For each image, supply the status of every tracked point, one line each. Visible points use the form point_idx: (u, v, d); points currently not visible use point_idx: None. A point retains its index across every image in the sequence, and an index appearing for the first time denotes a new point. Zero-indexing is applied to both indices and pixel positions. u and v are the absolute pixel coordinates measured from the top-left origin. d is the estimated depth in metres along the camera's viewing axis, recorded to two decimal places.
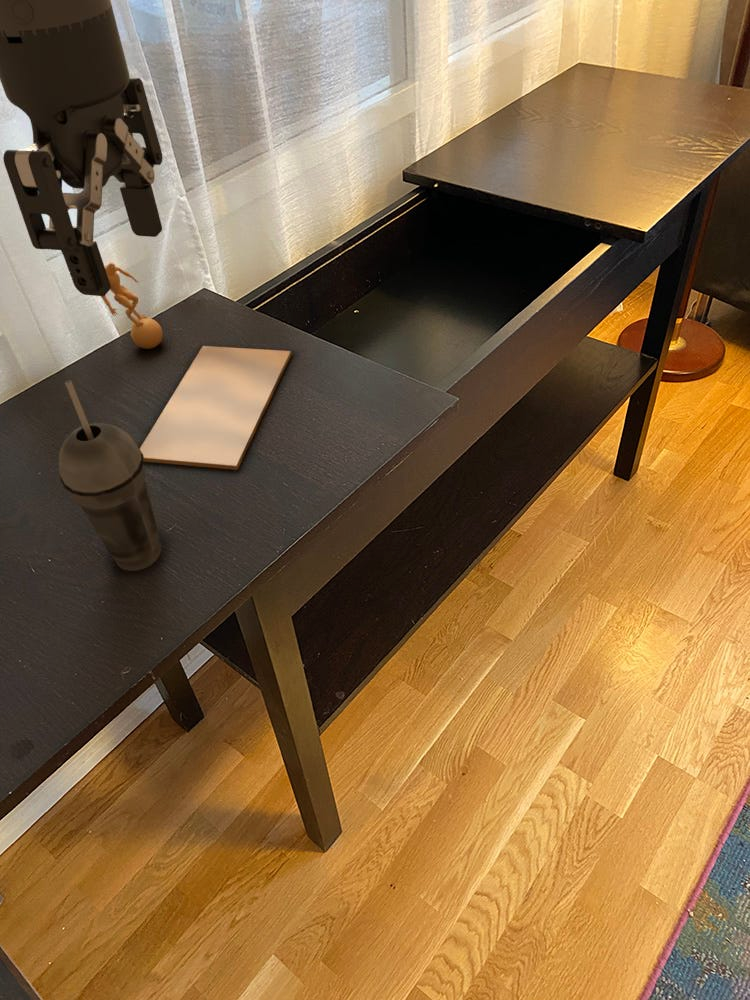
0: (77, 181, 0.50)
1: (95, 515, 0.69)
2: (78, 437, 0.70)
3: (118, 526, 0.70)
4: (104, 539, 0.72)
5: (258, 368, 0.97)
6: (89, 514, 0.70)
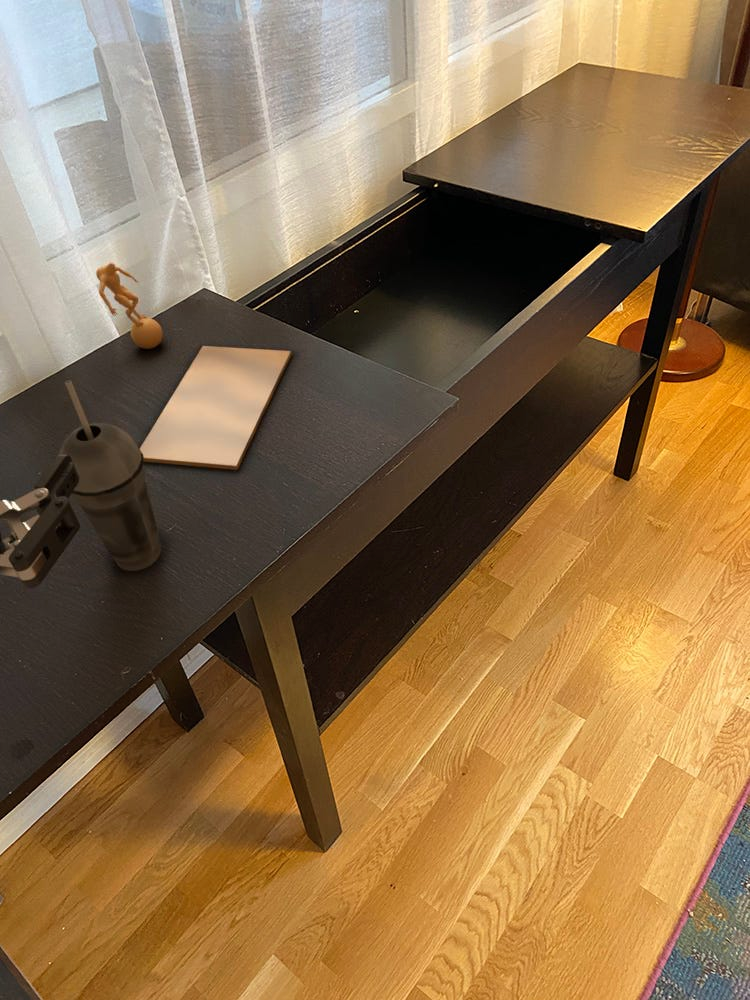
0: None
1: (95, 515, 0.69)
2: (78, 437, 0.70)
3: (118, 526, 0.70)
4: (104, 539, 0.72)
5: (258, 368, 0.97)
6: (89, 514, 0.70)
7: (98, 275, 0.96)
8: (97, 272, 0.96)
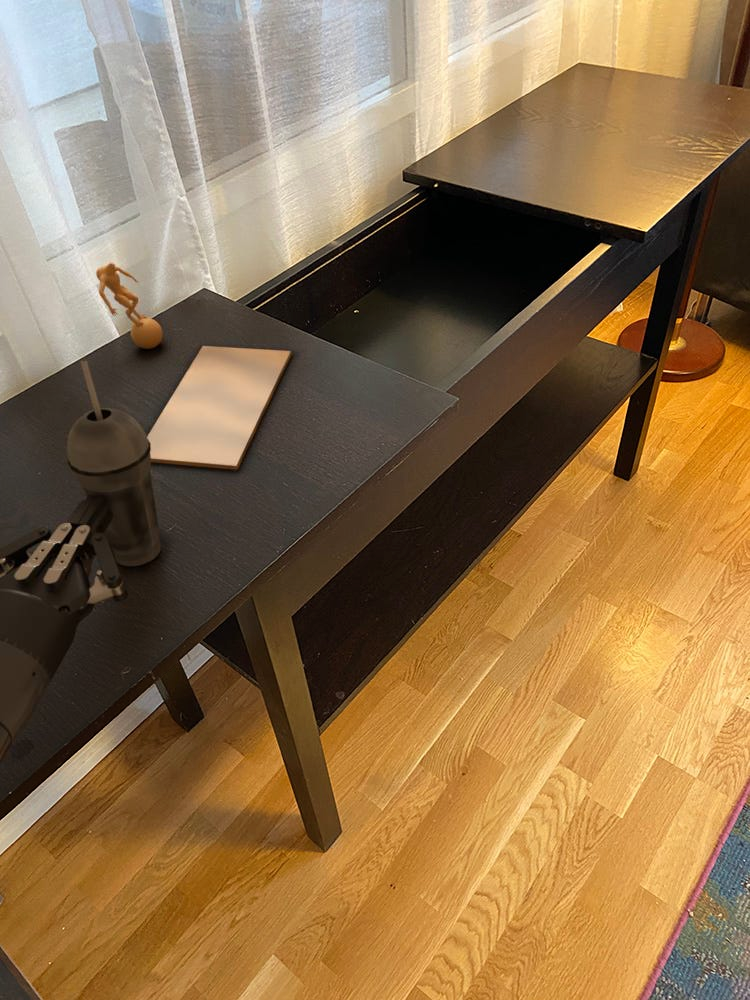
0: None
1: None
2: None
3: (120, 513, 0.71)
4: None
5: (258, 368, 0.97)
6: None
7: (98, 275, 0.96)
8: (97, 272, 0.96)
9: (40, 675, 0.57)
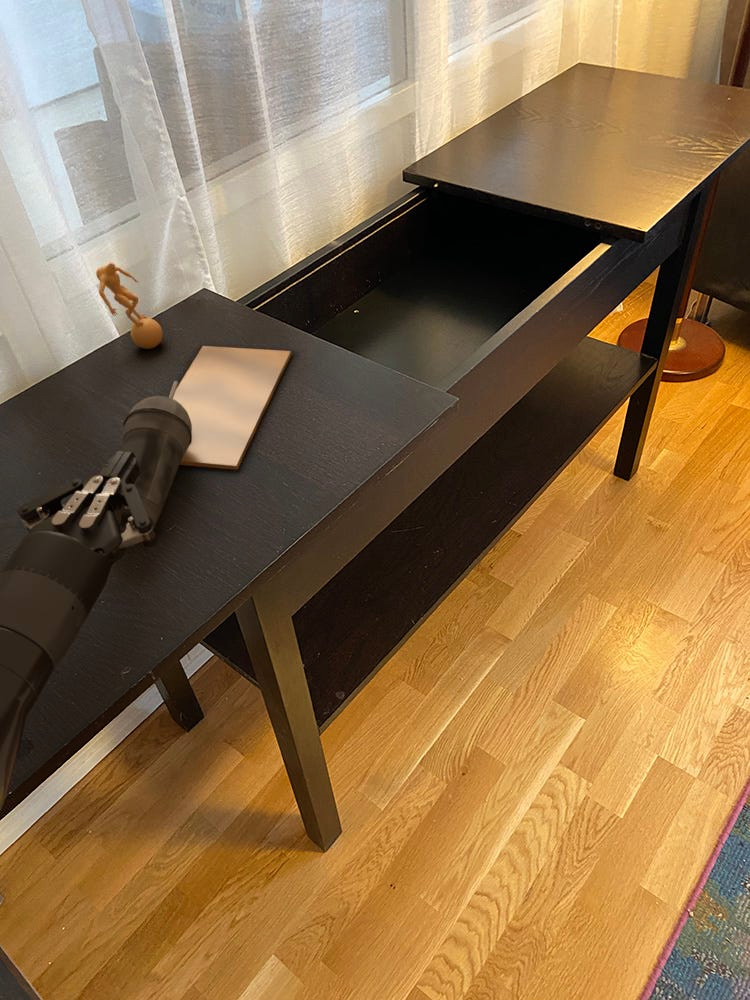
0: None
1: (128, 439, 0.80)
2: None
3: (137, 450, 0.79)
4: None
5: (258, 368, 0.97)
6: (124, 443, 0.81)
7: (98, 275, 0.96)
8: (97, 272, 0.96)
9: (78, 609, 0.61)
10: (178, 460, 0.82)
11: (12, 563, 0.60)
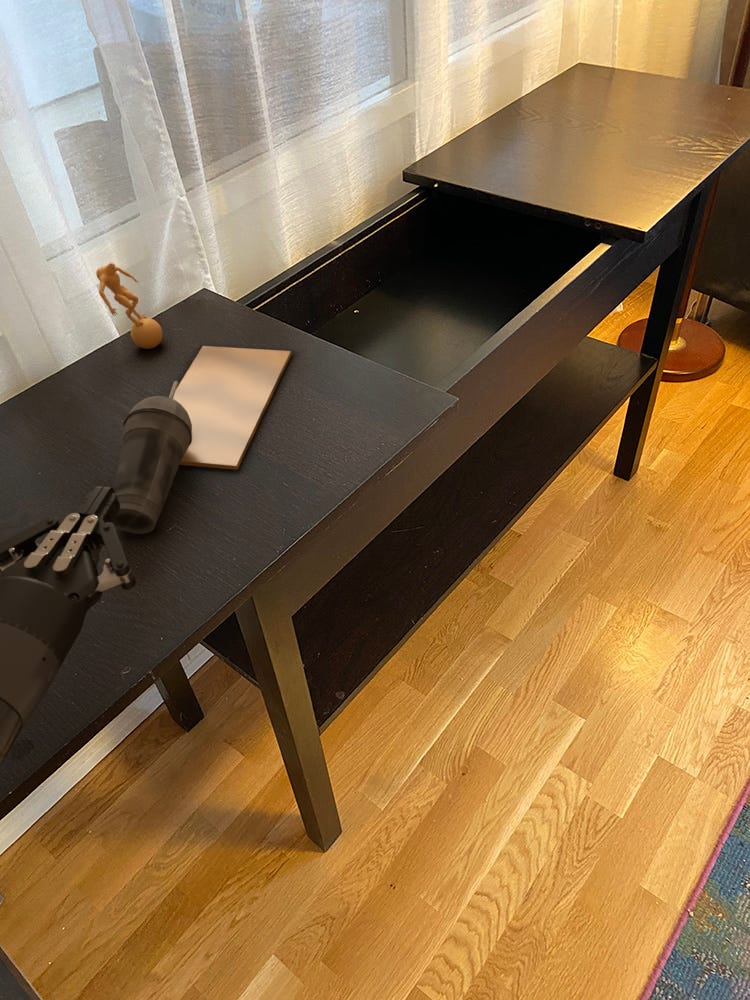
0: None
1: (129, 439, 0.80)
2: None
3: (137, 450, 0.79)
4: (118, 472, 0.79)
5: (258, 368, 0.97)
6: (124, 443, 0.81)
7: (98, 275, 0.96)
8: (97, 272, 0.96)
9: (50, 660, 0.57)
10: (178, 460, 0.82)
11: None
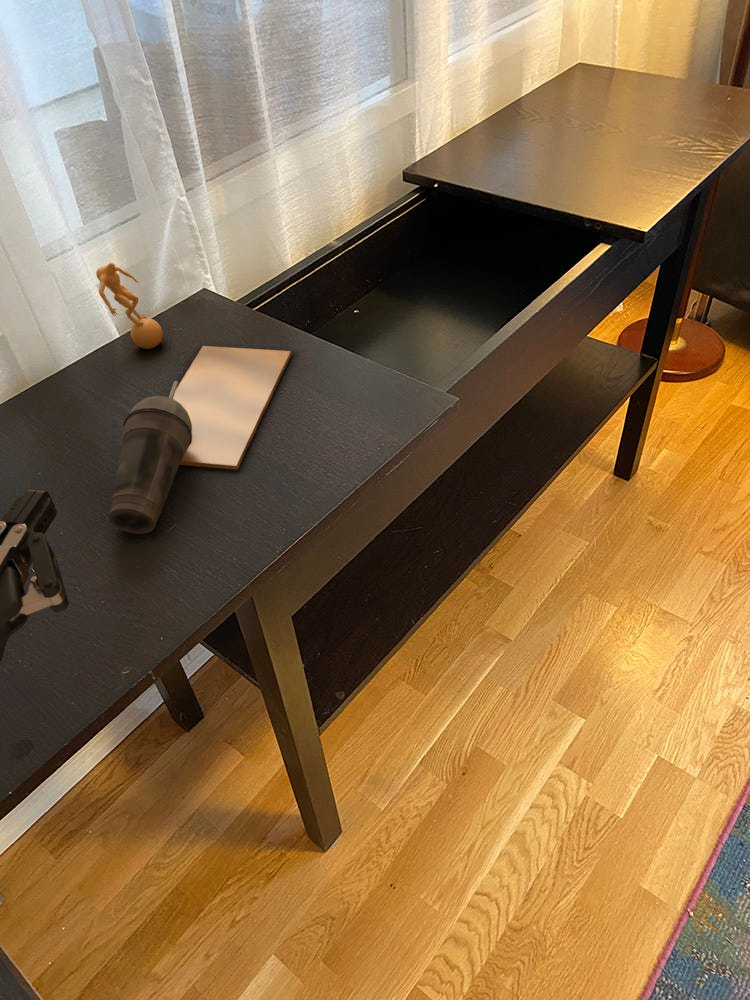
0: None
1: (129, 439, 0.80)
2: None
3: (137, 450, 0.79)
4: (118, 472, 0.79)
5: (258, 368, 0.97)
6: (124, 443, 0.81)
7: (98, 275, 0.96)
8: (97, 272, 0.96)
9: None
10: (178, 460, 0.82)
11: None
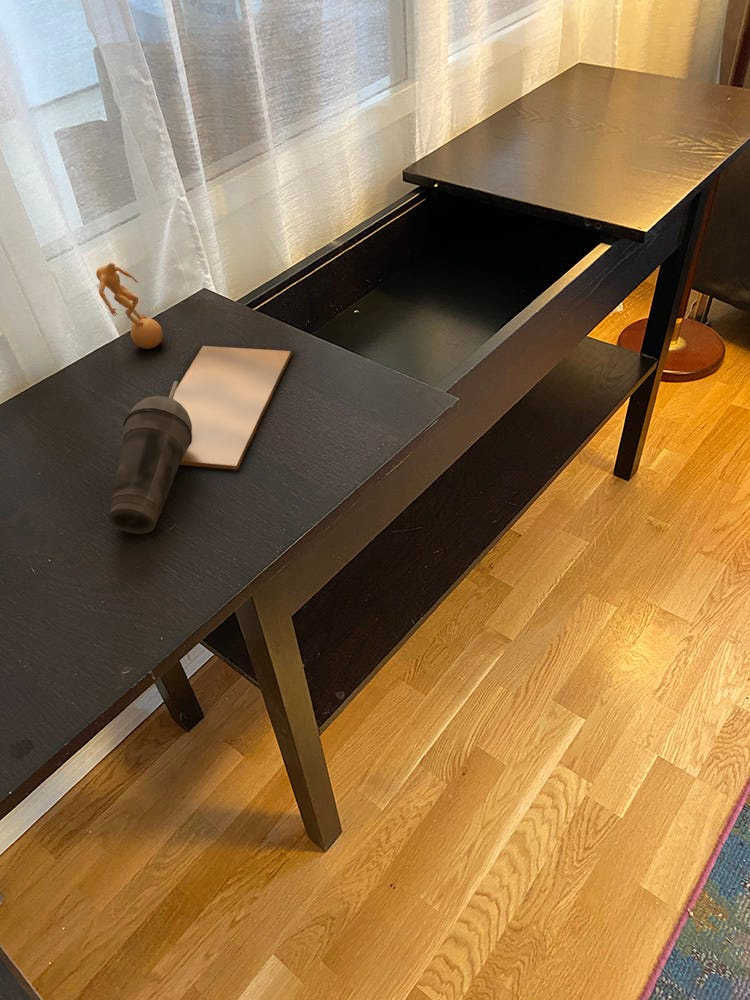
0: None
1: (129, 439, 0.80)
2: None
3: (137, 450, 0.79)
4: (118, 472, 0.79)
5: (258, 368, 0.97)
6: (124, 443, 0.81)
7: (98, 275, 0.96)
8: (97, 272, 0.96)
9: None
10: (178, 460, 0.82)
11: None
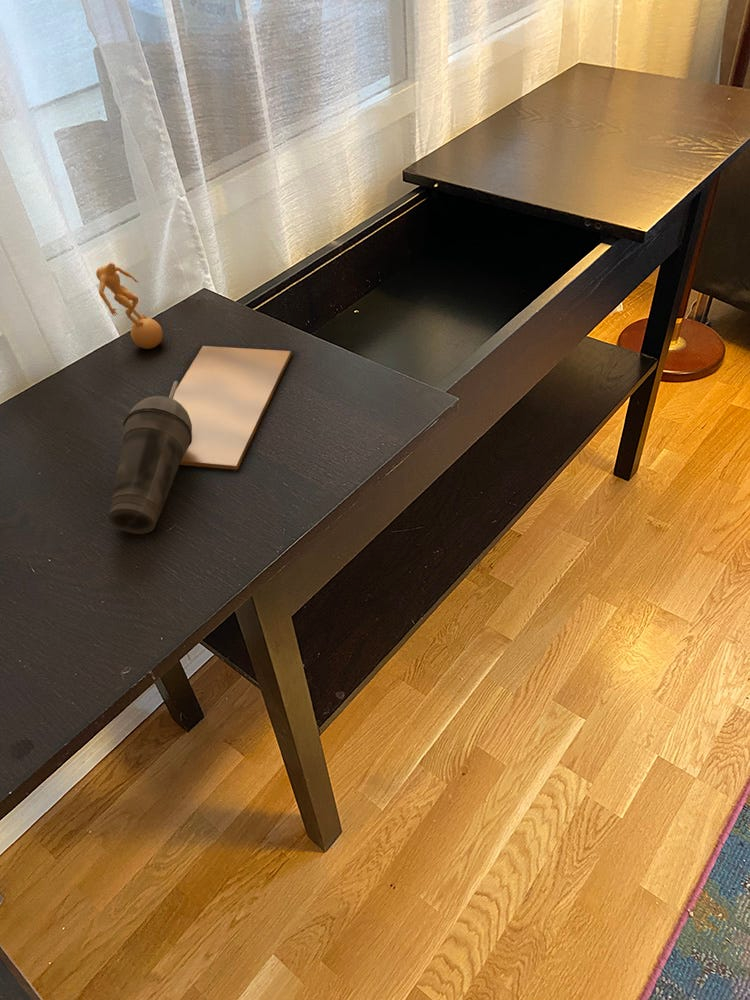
0: None
1: (129, 439, 0.80)
2: None
3: (137, 450, 0.79)
4: (118, 472, 0.79)
5: (258, 368, 0.97)
6: (124, 443, 0.81)
7: (98, 275, 0.96)
8: (97, 272, 0.96)
9: None
10: (178, 460, 0.82)
11: None
